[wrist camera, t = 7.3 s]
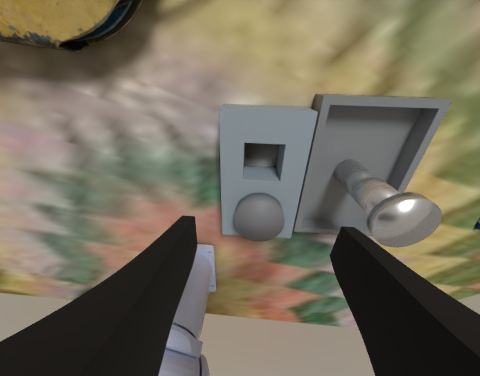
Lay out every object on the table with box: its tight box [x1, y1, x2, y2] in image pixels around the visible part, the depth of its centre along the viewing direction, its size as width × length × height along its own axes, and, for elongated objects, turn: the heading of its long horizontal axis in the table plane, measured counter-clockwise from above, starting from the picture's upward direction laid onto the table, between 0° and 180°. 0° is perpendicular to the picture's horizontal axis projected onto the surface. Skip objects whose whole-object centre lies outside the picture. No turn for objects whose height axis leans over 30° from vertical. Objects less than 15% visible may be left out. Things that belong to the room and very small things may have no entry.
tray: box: [293, 94, 452, 236], centre depth 18 cm, size 13×9×2 cm
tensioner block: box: [219, 104, 318, 241], centre depth 17 cm, size 12×7×4 cm, turn 178°
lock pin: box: [334, 159, 442, 247], centre depth 15 cm, size 4×4×8 cm
